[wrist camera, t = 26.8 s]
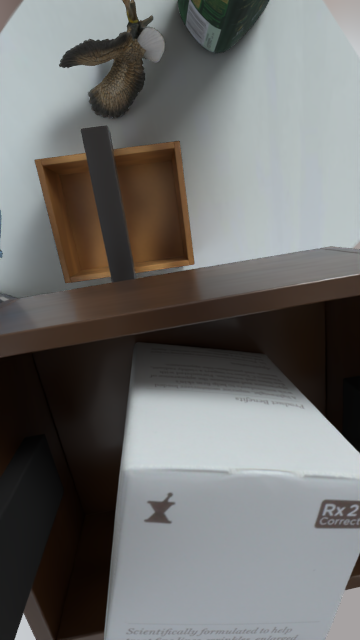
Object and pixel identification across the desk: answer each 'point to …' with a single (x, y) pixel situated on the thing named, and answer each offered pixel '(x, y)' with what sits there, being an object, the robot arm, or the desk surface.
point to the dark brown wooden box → (114, 379)
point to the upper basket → (117, 208)
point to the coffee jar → (220, 20)
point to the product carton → (228, 503)
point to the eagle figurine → (119, 63)
